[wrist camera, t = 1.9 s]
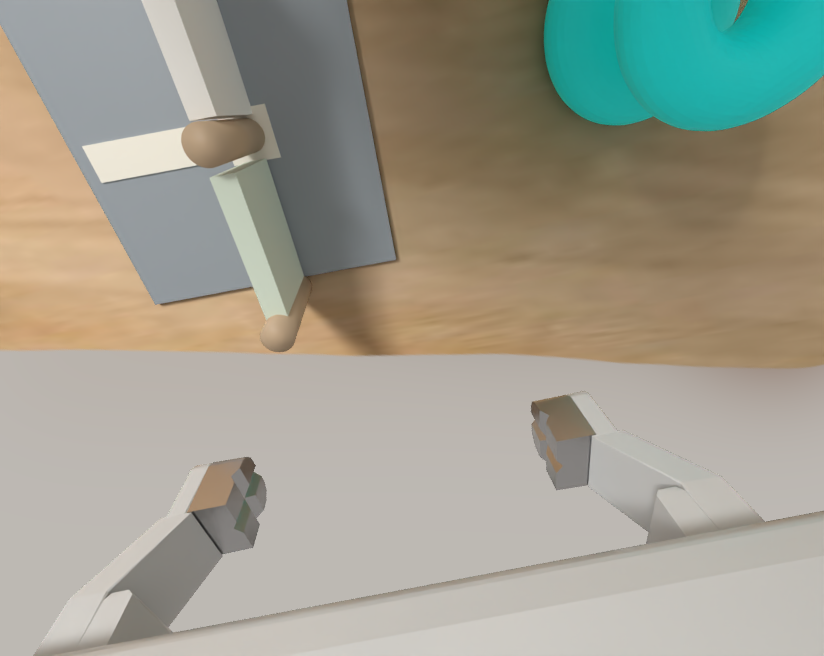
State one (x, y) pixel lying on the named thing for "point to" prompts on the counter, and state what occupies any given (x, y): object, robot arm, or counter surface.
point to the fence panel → (265, 249)
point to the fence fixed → (205, 81)
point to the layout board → (166, 119)
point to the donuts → (682, 58)
